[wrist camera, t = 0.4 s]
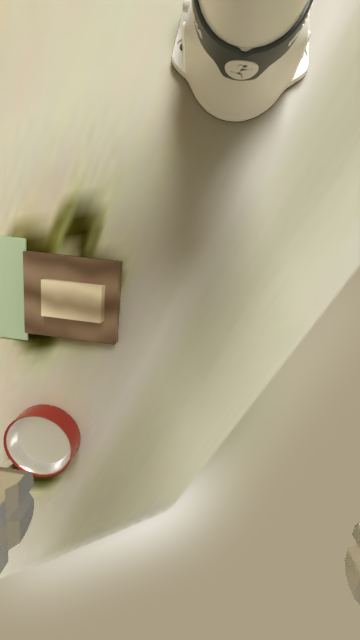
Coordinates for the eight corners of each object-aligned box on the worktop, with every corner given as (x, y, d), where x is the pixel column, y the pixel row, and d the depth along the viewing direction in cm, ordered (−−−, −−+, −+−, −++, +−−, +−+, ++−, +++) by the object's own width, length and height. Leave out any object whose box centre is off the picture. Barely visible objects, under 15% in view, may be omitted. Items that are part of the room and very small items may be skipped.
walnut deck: (29, 250, 52) (22, 251, 50) (122, 261, 51) (118, 262, 49) (31, 329, 55) (24, 332, 53) (117, 340, 54) (114, 344, 52)
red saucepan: (-5, 517, 67) (-27, 544, 60) (-50, 477, 65) (-77, 501, 59) (94, 437, 60) (81, 460, 53) (47, 390, 58) (28, 408, 52)
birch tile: (46, 278, 50) (40, 279, 49) (105, 285, 50) (101, 286, 48) (46, 313, 52) (41, 315, 50) (103, 320, 51) (100, 323, 50)
